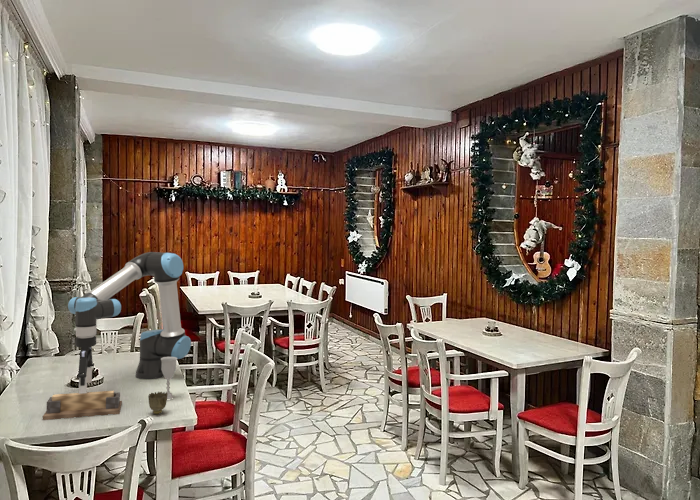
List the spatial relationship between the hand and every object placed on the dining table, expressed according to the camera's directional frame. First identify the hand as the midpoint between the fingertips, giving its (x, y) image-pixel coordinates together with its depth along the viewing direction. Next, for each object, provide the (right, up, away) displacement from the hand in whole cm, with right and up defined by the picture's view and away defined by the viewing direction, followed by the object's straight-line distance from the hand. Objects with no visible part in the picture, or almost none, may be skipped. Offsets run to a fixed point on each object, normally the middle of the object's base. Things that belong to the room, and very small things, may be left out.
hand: (85, 387), depth 203 cm
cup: (+29, -11, +1) cm, 31 cm away
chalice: (+27, -10, +19) cm, 34 cm away
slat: (-1, -8, 0) cm, 8 cm away
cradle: (0, -10, 0) cm, 10 cm away
